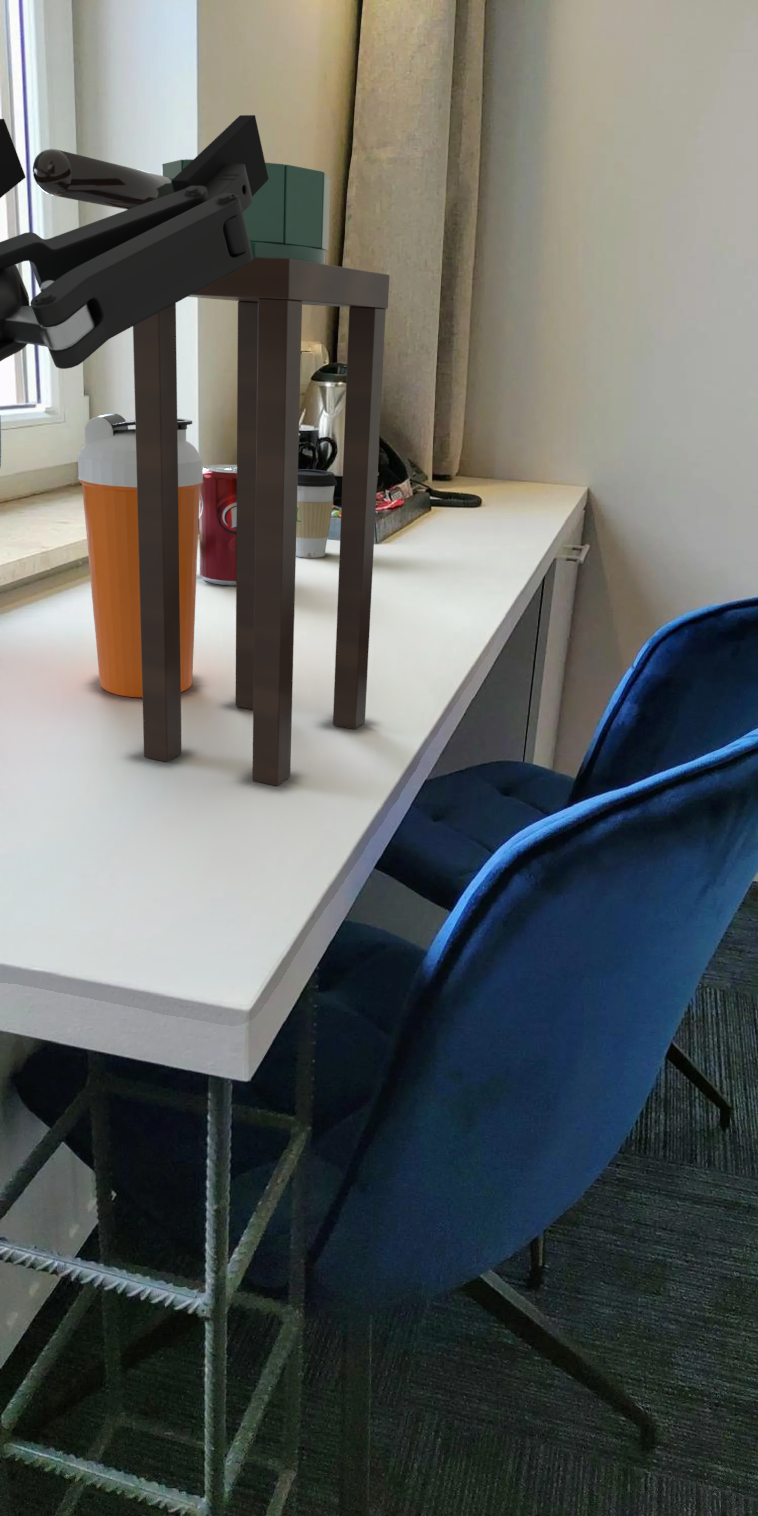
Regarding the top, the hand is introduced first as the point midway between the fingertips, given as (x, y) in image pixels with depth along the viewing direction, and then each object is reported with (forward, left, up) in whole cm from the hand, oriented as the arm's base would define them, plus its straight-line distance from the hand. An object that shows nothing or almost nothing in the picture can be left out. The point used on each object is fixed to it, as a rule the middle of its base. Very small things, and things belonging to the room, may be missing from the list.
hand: (126, 147), depth 52 cm
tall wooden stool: (+4, +13, -34) cm, 37 cm away
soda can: (-8, +62, -34) cm, 72 cm away
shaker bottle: (-6, +23, -34) cm, 42 cm away
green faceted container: (+2, +5, -4) cm, 6 cm away
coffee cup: (-2, +79, -34) cm, 87 cm away
